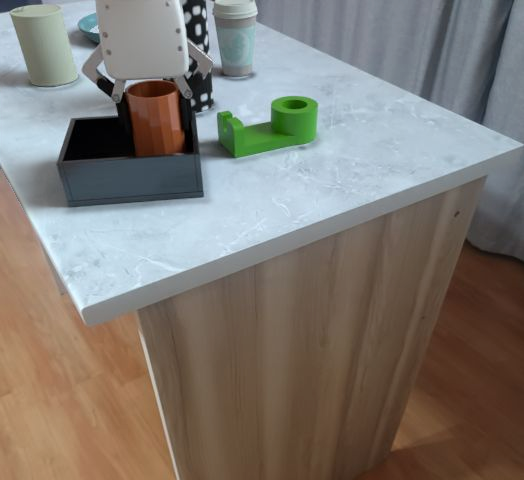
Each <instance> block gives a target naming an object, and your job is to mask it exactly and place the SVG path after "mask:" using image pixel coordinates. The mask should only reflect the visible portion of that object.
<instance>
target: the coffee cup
mask: <svg viewBox="0 0 524 480" xmlns="http://www.w3.org/2000/svg"><path fill="white" fill-rule="evenodd" d="M212 7H213V8H212V13H211V15H212V16H213V18H214V25H215V32H216V36H217V43H218V50H219V51H218V52H219V57H220V62H221V69H222V73H223V74H224V75H225V76H229V77H245V76H248V75H250V74H251V73H252V72H253V63H254V49H255V37H256V24H257V23H256V22H257V15H258V13H259V11H258V7H257V5H256V1H255V0H214V1H213V6H212Z"/></svg>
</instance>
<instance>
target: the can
mask: <svg viewBox="0 0 524 480" xmlns="http://www.w3.org/2000/svg"><path fill="white" fill-rule="evenodd" d="M62 8H63V7H61V6H60V5H56V4H50V3H49V4H47V3H46V4H45V3H44V4H43V3H42V4H30V5H24V6H19V7H16V8H13V9H11V10H10V11H9V16H10V18H11V22H12V24H13V27H14V31H15V34H16V37H17V41H18V44H19V47H20V50H21V53H22V56H23V59H24V64H25V66H26V71H27V74H28V76H29V82H30V83H31V85H34V86H37V87H58V86H64V85H68V84H70V83H73V82H75V81H76V80H78V78H79V73H78V70H77V67H76V63H75V60H74V54H73V52H72V47H71V43H70V40H69V35H68V31H67V27H66V23H65V18H64V14H63V9H62Z"/></svg>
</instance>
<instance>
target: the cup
mask: <svg viewBox="0 0 524 480" xmlns="http://www.w3.org/2000/svg"><path fill="white" fill-rule="evenodd" d="M124 92H125V97H126V102H127V107H128V112H129V117H130V123H131V128H132V134H133V139H134V144H135V150H136V155H137V156H146V155H160V154H175V153H187V152H186V143H185V134H184V130H183V124H182V116H181V107H180V92H179V88H178V86H177V85H176V83H174V82H171V81H167V80H163V79H145V80H140V81H137V82H134V83H131V84H129V85H128V86H127V87H125V88H124Z"/></svg>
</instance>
